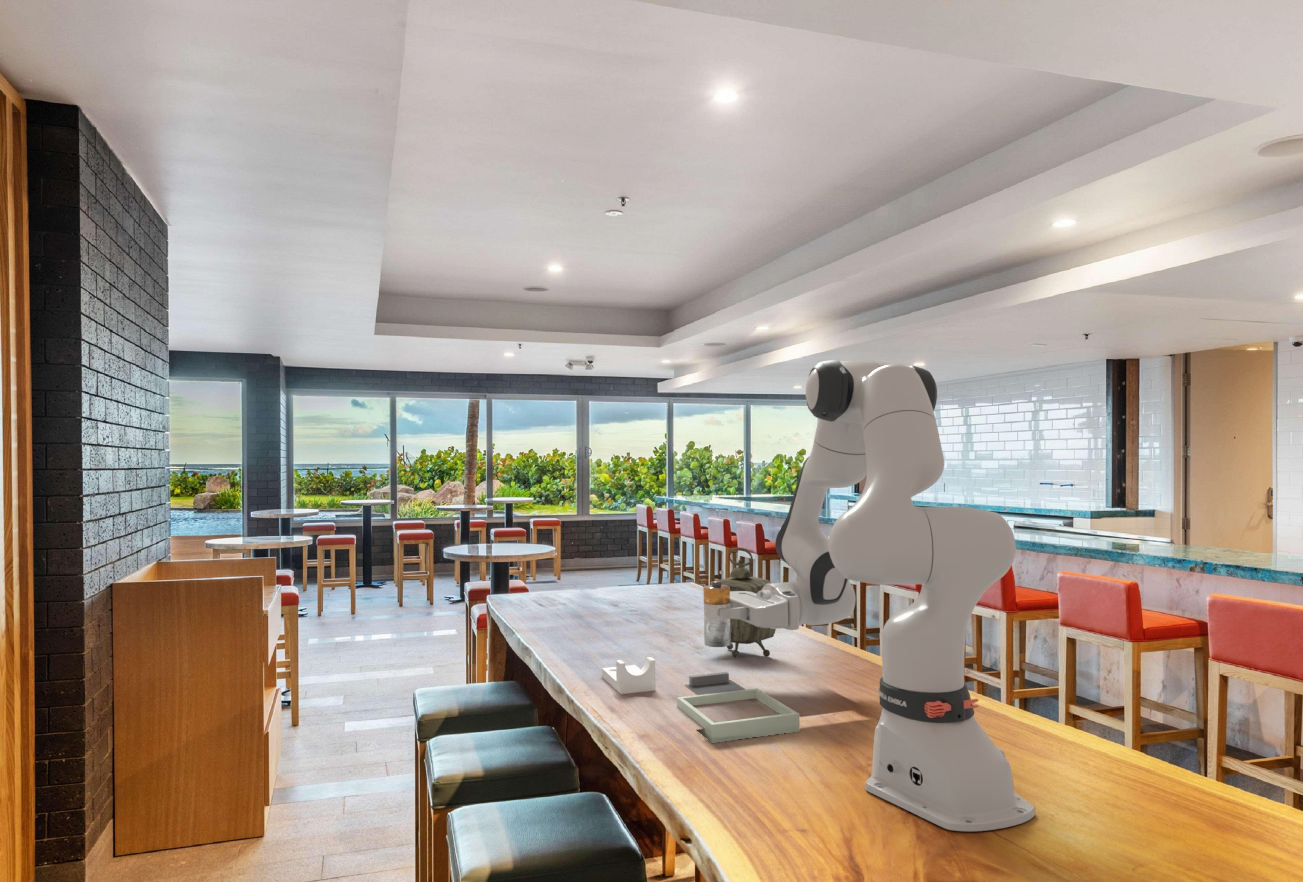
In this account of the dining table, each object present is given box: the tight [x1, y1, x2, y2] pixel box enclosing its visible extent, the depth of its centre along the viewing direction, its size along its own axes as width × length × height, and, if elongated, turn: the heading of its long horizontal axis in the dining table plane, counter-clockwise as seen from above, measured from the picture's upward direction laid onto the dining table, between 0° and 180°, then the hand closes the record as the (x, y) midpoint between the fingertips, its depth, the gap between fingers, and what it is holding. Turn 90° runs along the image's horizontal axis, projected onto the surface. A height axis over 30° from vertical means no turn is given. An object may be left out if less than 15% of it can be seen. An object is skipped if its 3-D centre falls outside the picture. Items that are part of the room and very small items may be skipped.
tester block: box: [684, 671, 747, 695], centre depth 157 cm, size 10×10×3 cm
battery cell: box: [703, 580, 731, 648], centre depth 157 cm, size 5×5×12 cm
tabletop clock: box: [710, 547, 777, 658], centre depth 190 cm, size 14×9×25 cm, turn 47°
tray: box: [676, 687, 801, 744], centre depth 142 cm, size 16×16×3 cm
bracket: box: [601, 656, 657, 695], centre depth 162 cm, size 13×7×8 cm, turn 19°
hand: (712, 610), depth 157 cm, fingers closed on battery cell, 5 cm apart
